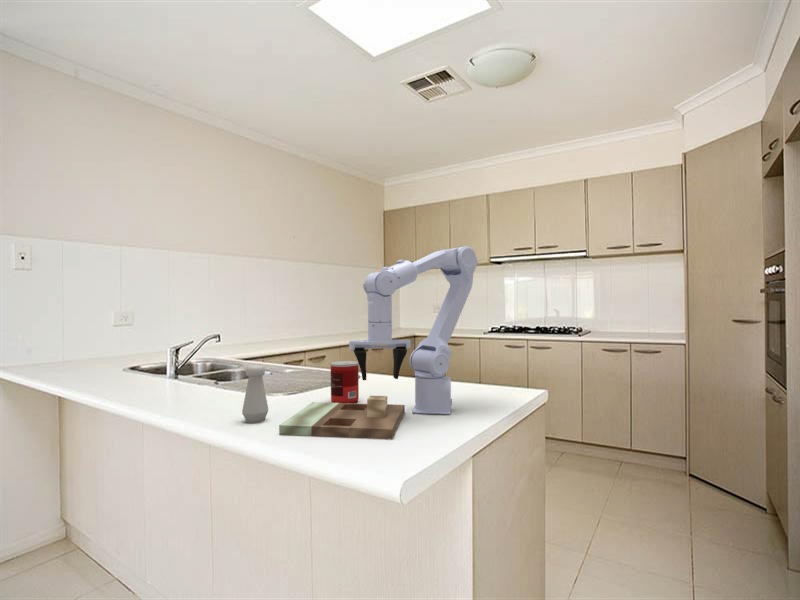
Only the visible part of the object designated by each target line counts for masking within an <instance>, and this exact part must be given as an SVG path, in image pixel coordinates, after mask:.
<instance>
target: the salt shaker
mask: <svg viewBox="0 0 800 600" xmlns="http://www.w3.org/2000/svg"><path fill="white" fill-rule="evenodd" d="M265 374H266V369H265V366H264V365H260V364H253V365H252V364H251V365H248V366H247V367H246V368H245V376H246V377H247V378H248V379H247V386H246V389H245V395H244V401H243V405H242V411H241V413H242V415H243V418H244V419H245V421H246V423H248V424H257V423H262V422H265V420H266V418H267V415H268V412H269V406H268V400H267V396H266V390H265V385H264V380H263V379H264V378H263V376H264V375H265Z"/></svg>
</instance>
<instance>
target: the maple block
mask: <svg viewBox="0 0 800 600" xmlns="http://www.w3.org/2000/svg"><path fill="white" fill-rule="evenodd" d="M366 404H367V417H382V418H385V416H386V415H387V404H388V396H387V395H370V396H368V398H367V399H366Z"/></svg>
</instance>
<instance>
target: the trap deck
mask: <svg viewBox="0 0 800 600" xmlns="http://www.w3.org/2000/svg"><path fill="white" fill-rule="evenodd" d="M405 406H406V405H405V404H391V403H390V404H388V403H387V415H386V416H385V418H382V417H367V403H358V402H356V403H332V402H324V401H323V402H322V401H321V402H316V401H312V402H311V403H309V404H308V405H306V406H305V407H303V408H301V409H300V410H299V411H298V412H296V413H295V414H294V415H292V416H290V417H289V418H288V419H286V420H285V421H283V422H281V424H279V425H278V430H279V431H278V434H279V436H302V437H303V436H304V437H305V436H306V437H325V438H326V437H330V438H349V439H351V438H353V439H378V440H379V439H380V440H381V439H383V440H393V438H394V436H395V434H396V432H397V429H398V427H399V425H400V424H401V421H402V419H403V417H404V415H405V413H406V412H405V410H406V409H405V408H406V407H405Z"/></svg>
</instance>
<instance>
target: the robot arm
mask: <svg viewBox="0 0 800 600" xmlns="http://www.w3.org/2000/svg"><path fill="white" fill-rule="evenodd" d="M478 264H479V261H478V259H477V255H476V252H475V250H474V249H473V248H472V247H471V246H468V245H465V246H462V247H460V246H459V247H455V248H445V249H441V250H438V251H433V252H431V253H429V254H428V255H426V256H424V257H422V258H419V259H417V260H415V261H413V262H411V261H410V260H408V259H407V260H404V259H399V260H396V263H395V264H393V265H391V266H383V267H382V268H381V271H378V272H377V271H376V272H371V273H369V274H368V275H367V276H366V278H365V279H364V283H362V288H363V290H364V292H365V294H366V296H367V339H362V340H361V339H359V340H349V341H348V344H349V345H348V346H349V350H351V351H352V350H353V353H354V356H355V357H356V360H357V362H358V367H359V368H360V373H361V380H362V381H367V368H366V367H367V352H366V350H373V349H375V350H376V349H377V350H378V349H392V356H393V357H392V358H393V373H392V375H393V379H395V380H398V379H399V375H400V370H401V367H402V364H403V361H404V359H405V358H406V355H407V352H408V349H411V339H393V314H392V312H393V302H392V301H393V300H392V299H393V297H392V296H393V294H395V293H396V290H399V289H400V288H402V287H405V286H407V285H410V284H412V283H413V282H415V281H417V278H418V275H420V274H422V273H425V272H427V271H430V270H433V269H435V268H436V269H439V270H440V272H441V273H442V275H443V276H444V277H445V280H446V281H447V282H448V283H449V288H448V291H447V293H446V295H445V298H444V299H443V302H442V304H441V306H440V308H439V311H438V313H437V315H436V318H435V320H434V322H433V324H432V327H431V329H430V331H429V333H428V335H427V337H425V338H424V339H423V340H421V341H419V342H418V343H419V344H418V345H417V346H416V348H415V349H414V350H413V351H412V352H411V354H410V355H409V360H408V362H409V366H410V368H411V369H412V370H413V375H414V376H415V377H414V378H415V379H414V384H415V385H414V391H415V393H414V399H415V400H414V407H413V409H412V410H411V411H412V412H411V413H412V414H428V415H431V414H432V415H451V411H452V407H453V398H451V397H452V393H451V392H452V388H451V387H452V380H451V379H452V377H451V376H446V374H447V373H448V370H449V367H450V359H451V355H452V350H451V348H450V347H449V342H450V339H451V337H452V335H453V332H454V330H455V328H456V326H457V323H458V321H459V319H460V317H461V315H462V311H463V309H464V307H465V304H466V301H467V300H468V297H469V295H470V293H471V290H472V287H473V282H474V273H475V271H476V269H477V266H478Z"/></svg>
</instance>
